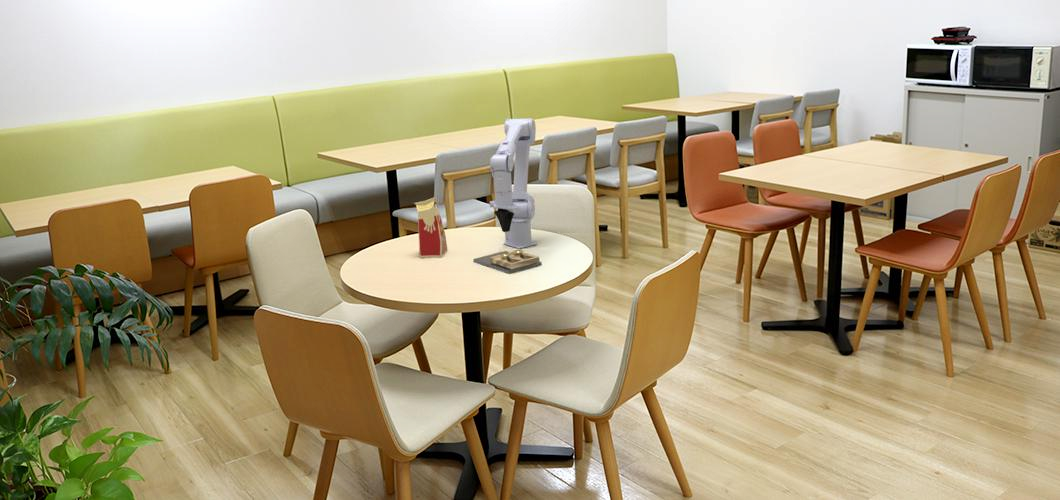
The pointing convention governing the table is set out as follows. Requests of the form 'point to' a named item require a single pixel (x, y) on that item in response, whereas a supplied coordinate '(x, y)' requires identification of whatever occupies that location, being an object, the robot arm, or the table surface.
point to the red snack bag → (430, 230)
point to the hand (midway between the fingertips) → (506, 231)
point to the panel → (515, 260)
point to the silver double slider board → (486, 259)
